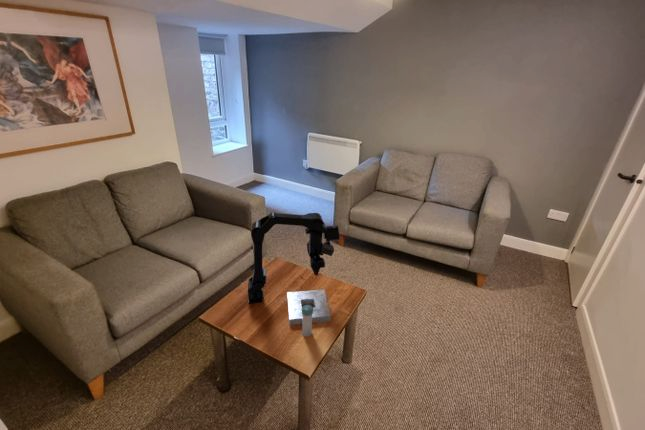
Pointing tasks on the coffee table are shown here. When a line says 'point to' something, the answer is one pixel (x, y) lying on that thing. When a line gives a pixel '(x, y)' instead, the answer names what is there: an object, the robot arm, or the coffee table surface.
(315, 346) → the coffee table surface
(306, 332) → the plug
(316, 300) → the housing
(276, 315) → the coffee table surface
